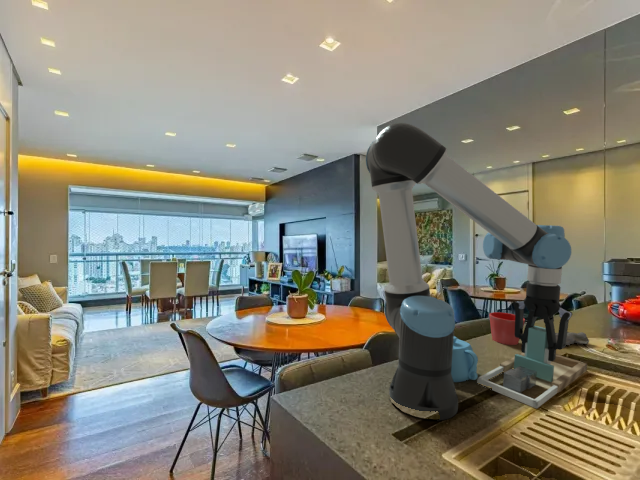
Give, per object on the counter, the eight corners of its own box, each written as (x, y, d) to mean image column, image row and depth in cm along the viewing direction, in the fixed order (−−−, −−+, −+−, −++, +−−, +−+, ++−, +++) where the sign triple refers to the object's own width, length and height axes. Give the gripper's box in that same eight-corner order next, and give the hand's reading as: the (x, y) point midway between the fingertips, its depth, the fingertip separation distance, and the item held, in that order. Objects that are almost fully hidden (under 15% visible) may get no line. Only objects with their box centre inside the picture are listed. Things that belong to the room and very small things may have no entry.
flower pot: (502, 336, 125) (504, 310, 125) (530, 347, 115) (532, 319, 115) (480, 339, 122) (482, 312, 121) (507, 350, 112) (509, 322, 111)
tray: (536, 412, 75) (537, 401, 75) (476, 387, 86) (477, 377, 86) (557, 396, 83) (557, 386, 83) (499, 374, 94) (500, 365, 93)
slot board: (558, 396, 83) (559, 384, 82) (499, 374, 94) (499, 363, 94) (586, 373, 96) (587, 363, 96) (532, 356, 107) (532, 347, 107)
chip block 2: (529, 391, 84) (530, 375, 84) (512, 384, 87) (513, 369, 87) (535, 386, 86) (536, 371, 86) (518, 380, 90) (519, 365, 89)
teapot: (436, 323, 104) (493, 342, 88) (434, 357, 104) (490, 382, 89) (407, 329, 97) (463, 351, 82) (405, 365, 98) (460, 393, 82)
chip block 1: (519, 395, 82) (521, 379, 82) (502, 388, 85) (503, 372, 85) (526, 390, 84) (528, 374, 84) (509, 383, 88) (511, 368, 87)
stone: (558, 349, 115) (559, 337, 115) (535, 339, 125) (536, 328, 125) (594, 347, 118) (595, 336, 118) (569, 338, 128) (570, 327, 127)
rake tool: (551, 382, 86) (554, 336, 85) (513, 368, 93) (516, 326, 93) (558, 376, 89) (562, 332, 89) (521, 364, 97) (524, 323, 96)
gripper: (587, 287, 86) (579, 377, 87) (515, 276, 99) (509, 354, 101) (577, 290, 81) (569, 385, 83) (503, 278, 95) (497, 360, 96)
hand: (536, 368), depth 92 cm, fingers closed on rake tool, 4 cm apart
